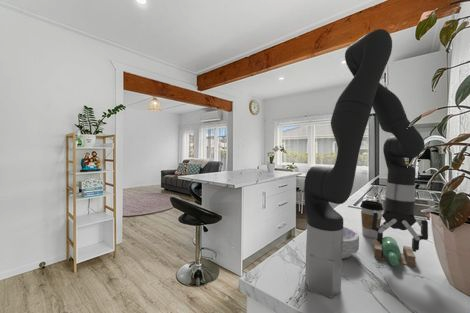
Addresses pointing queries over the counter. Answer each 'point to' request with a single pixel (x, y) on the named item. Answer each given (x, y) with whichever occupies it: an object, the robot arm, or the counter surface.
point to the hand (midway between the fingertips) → (396, 247)
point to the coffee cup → (370, 217)
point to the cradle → (406, 257)
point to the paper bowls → (349, 242)
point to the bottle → (391, 250)
